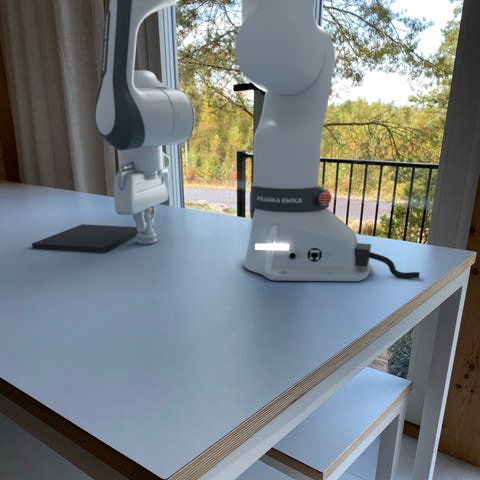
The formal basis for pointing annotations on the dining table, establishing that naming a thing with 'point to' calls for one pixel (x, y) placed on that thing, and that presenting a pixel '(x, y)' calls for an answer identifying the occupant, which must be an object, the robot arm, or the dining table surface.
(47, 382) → the dining table surface
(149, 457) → the dining table surface
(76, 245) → the mat
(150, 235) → the rook chess piece
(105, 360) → the dining table surface
